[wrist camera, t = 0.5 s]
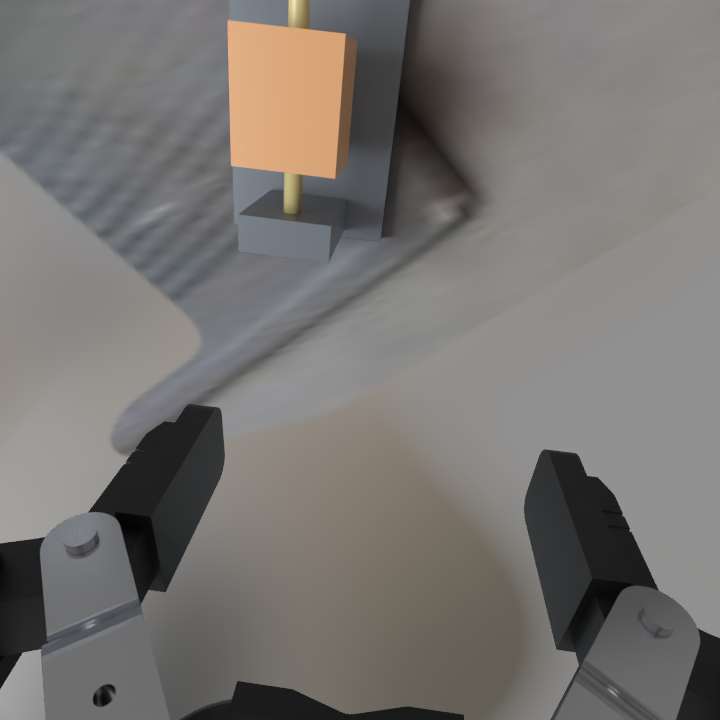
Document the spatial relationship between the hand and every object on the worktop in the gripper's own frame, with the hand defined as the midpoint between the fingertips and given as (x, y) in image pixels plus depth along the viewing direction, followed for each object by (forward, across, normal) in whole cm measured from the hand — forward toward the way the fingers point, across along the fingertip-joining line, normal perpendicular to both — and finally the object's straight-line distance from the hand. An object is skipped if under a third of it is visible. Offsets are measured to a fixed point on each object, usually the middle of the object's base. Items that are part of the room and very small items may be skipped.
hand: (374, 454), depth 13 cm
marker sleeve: (+21, +6, -6) cm, 23 cm away
